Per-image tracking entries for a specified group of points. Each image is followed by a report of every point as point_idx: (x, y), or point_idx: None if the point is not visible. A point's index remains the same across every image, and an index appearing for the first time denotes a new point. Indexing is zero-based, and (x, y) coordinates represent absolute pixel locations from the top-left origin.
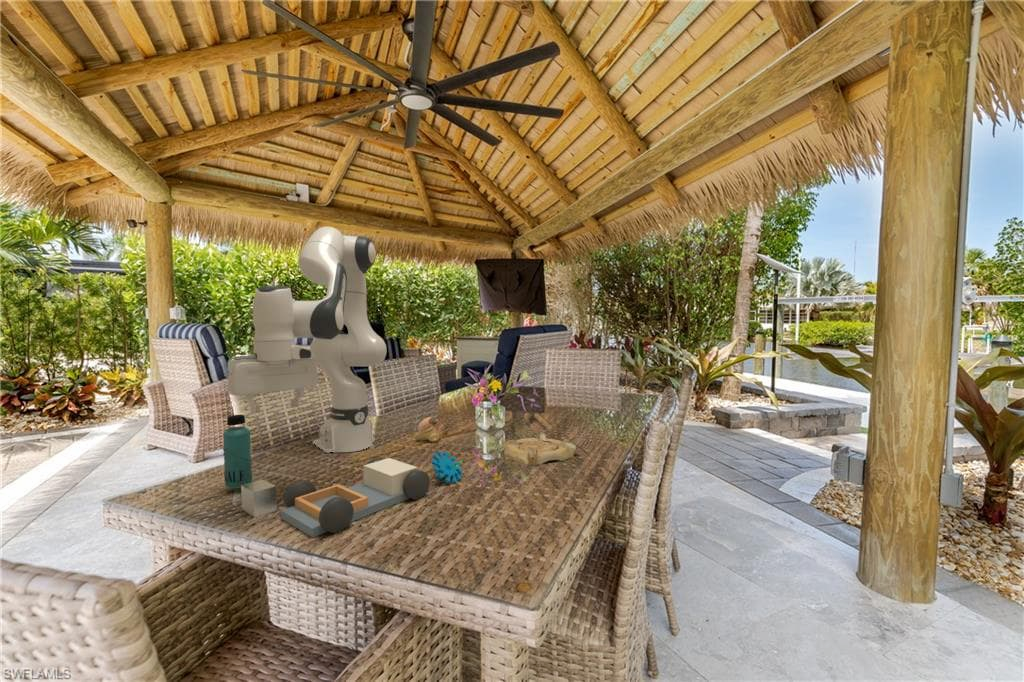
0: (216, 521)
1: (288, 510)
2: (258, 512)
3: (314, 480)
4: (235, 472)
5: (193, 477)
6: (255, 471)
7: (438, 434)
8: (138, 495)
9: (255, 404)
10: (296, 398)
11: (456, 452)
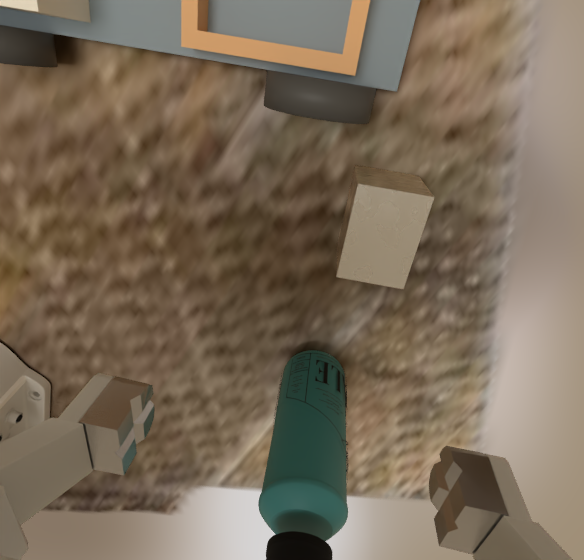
0: (475, 244)
1: (386, 65)
2: (409, 176)
3: (166, 257)
4: (334, 387)
5: None
6: (228, 419)
7: None
8: None
9: (522, 530)
10: (72, 451)
11: None
